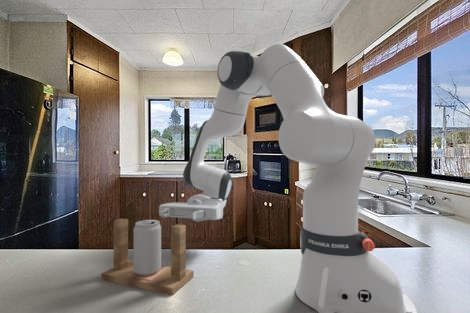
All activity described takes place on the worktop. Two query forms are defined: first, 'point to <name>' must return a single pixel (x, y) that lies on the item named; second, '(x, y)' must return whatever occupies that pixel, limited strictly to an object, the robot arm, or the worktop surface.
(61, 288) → the worktop surface
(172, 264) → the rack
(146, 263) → the beverage can
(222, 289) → the worktop surface
